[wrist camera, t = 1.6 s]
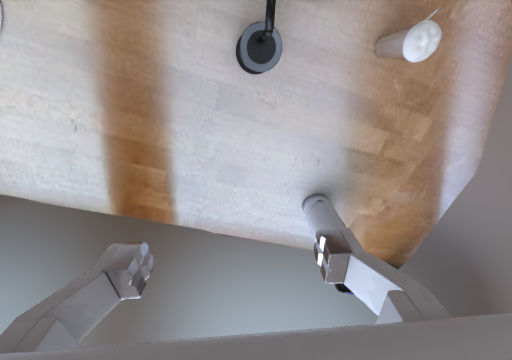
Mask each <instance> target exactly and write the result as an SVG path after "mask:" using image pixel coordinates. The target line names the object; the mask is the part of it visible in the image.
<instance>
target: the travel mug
mask: <svg viewBox="0 0 512 360" xmlns="http://www.w3.org/2000/svg"><path fill="white" fill-rule="evenodd" d="M302 210H303V213H304V215H305V217H306V220H307V222H308V224H309V227H310V229H311V231H312V234H313V236H314V238H315V241H317V239H316V237H315V235H316V231H317V230H326V229H338V228H347V227H346V226H345V224H344V223H343V221H342V220H341V218H340V217H339V215H338V214H337V212H336V211H335V209H334V207H333V206H332V204H331V203H330V201H329V200H328V198H327V197H326V196H324V195H320V194H316V195H312V196H310V197H308V198H307V199H306V200H305V201H304V203H303V205H302ZM334 284H335V286H336V288H337V290H338V291H340V292H343V293H350V292H352V291H351V290H350V289H349V288H348V287H347V286H346V285H344V283H334Z"/></svg>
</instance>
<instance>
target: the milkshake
mask: <svg viewBox="0 0 512 360" xmlns="http://www.w3.org/2000/svg"><path fill="white" fill-rule="evenodd" d="M440 9H441V8H440ZM440 9H437V10H436V11H434V12H433V13H432V14H431V15H430V16H428V17H427V18H426V19H425V20H424V21H421V22H419V23H416V24H414V25H411V26H409V27H406V28H403V29H400V30H397V31H394V32H392V33H389V34H386V35H384V36H382V37H381V38H379V39H378V41H377V43H376V44H375V54H376V55H377V57H379V58H386V59H397V60H402V61H409V62H419V61H422V60H424V59H426V58H427V57H429V56H430V55H431V54H432V53H433V52H434V51H435V50H436V48H437V47H438V44H439V41H440V39H441V30H440V28H439V26H438V24H437V23H436V22H435V21H432V20H428V19H429V18H430V17H432V16H433V15H434V14H435V13H436V12H438V11H439V10H440Z"/></svg>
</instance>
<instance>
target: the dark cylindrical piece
mask: <svg viewBox="0 0 512 360" xmlns="http://www.w3.org/2000/svg"><path fill="white" fill-rule="evenodd" d="M275 4H276V0H267V5H266V21H265V22H256V23H254V24H252V25H250V26H249V27H248V28H247V29H246V30H245V31H244V33H243V35H242V36H241V37H240V39H239V41H238V43H237V47H236V56H237V60H238V63H239V64H240V66H241V67H242V68H243V69H244V70H245V71H246V72H248V73H251V74H260V73H263V72H265V71H268V70H270V69H271V68H273V67H274V66H275V65H276V64H277V62H278V61H279V59H280V56H281V53H282V41H281V37H280V35H279V33H278V31H277V30H276V28H274V17H275Z"/></svg>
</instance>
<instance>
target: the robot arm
mask: <svg viewBox="0 0 512 360" xmlns="http://www.w3.org/2000/svg"><path fill="white" fill-rule="evenodd" d="M1 23H2V11H1V4H0V28H1ZM315 237H316V239H317V241H316V243H315V245H314V252H315V257H316V261H317V263H318V264H319V265H320V266H321V274H322V277H323V279H324V282H325V284H330V283H331V284H332V283H344V285H346V286H347V287H348V288H349V289H350V290H351V291H352V292H353V293H354V294H355V295H356V296H357V297H358V298H359V299H361V300H362V301H363V302H364V303H365V304H366V305H367V306H368V307H369V308H370V309H371V310H372V311H373V312H374V313H376V314H377V315H378V319H377V322H376V324H371V325H357V326H345V327H332V328H320V329H307V330H294V331H282V332H269V333H257V334H245V335H231V336H219V337H206V338H194V339H181V340H169V341H156V342H144V343H132V344H117V345H105V346H93V347H82V346H81V345H80V343H79V341H80V340H82V339H83V338H84V337H85V336H86V335H87V334H88V333H89V332H90V331H91V330H92V329H93V328H94V327H95V326H96V325H97V324H98V323H99V322H100V321H101V320H102V319H103V318H104V317H105V316H106V315H107V314H108V313H109V312H110V311H111V310H112V309H113V308H114V307H115V306H116V305H117V304H118V303H119V302H120V301H121V300H122V299H132V298H140V297H141V295H142V292H143V290H144V288H145V286H146V282H145V280H146V279H147V278H148V277H149V276H150V275H151V272H152V270H153V264H154V262H153V257H152V255H151V254H149V253H148V252H147V251H148V249H149V247H148V245H147V243H145V242H141V243H123V244H112V245H110V246H109V247H108V249H107V250H106V251H105V252H104V254H103V255H102V256H101V258H100V259H99V260H98V261H97V263H96V264H95V265H94V267H93V268H92V269H91V271H90V272H89V273H85V274H83V275H82V276H80V277H79V278H77V279H75V280H74V281H73V282H71V283H69V284H68V285H66V286H65V287H63V288H62V289H60V290H59V291H57V292H55V293H54V294H52V295H51V296H50V297H48V298H46V299H45V300H43V301H42V302H40V303H39V304H37V305H35V306H34V307H32V308H31V309H29V310H28V311H26V312H25V313H23V314H22V315H20V316H18V317H17V318H16V319H15V320H14V321H13V322H12V323H11V324H10V326H9V327H8V328H7V329H6V330H5V331H4V332H3V333H2V334H1V335H0V360H512V313H509V314H496V315H484V316H472V317H459V318H452V317H451V316H450V315H449V314H448V313H447V312H446V310H445V309H444V308H443V307H442V305H441V304H440V303H439V302H438V301H437V299H436V298H435V297H434V296H433V295H432V293H431V292H430V291H429V290H428V289H427V287H425V286H424V285H422V284H420V283H419V282H417V281H415V280H414V279H412V278H410V277H409V276H407V275H405V274H404V273H402V272H400V271H399V270H397V269H395V268H394V267H392V266H390V265H389V264H387V263H385V262H384V261H382V260H380V259H379V258H377V257H375V256H374V255H372V254H370V253H366V252H365V251H364V249H363V248H362V246H361V245H360V243H359V242H358V240H357V239H356V237H355V236H354V234H353V233H352V231H351V230H350V229H349V228H338V229H326V230H317V231H316V235H315Z"/></svg>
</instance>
